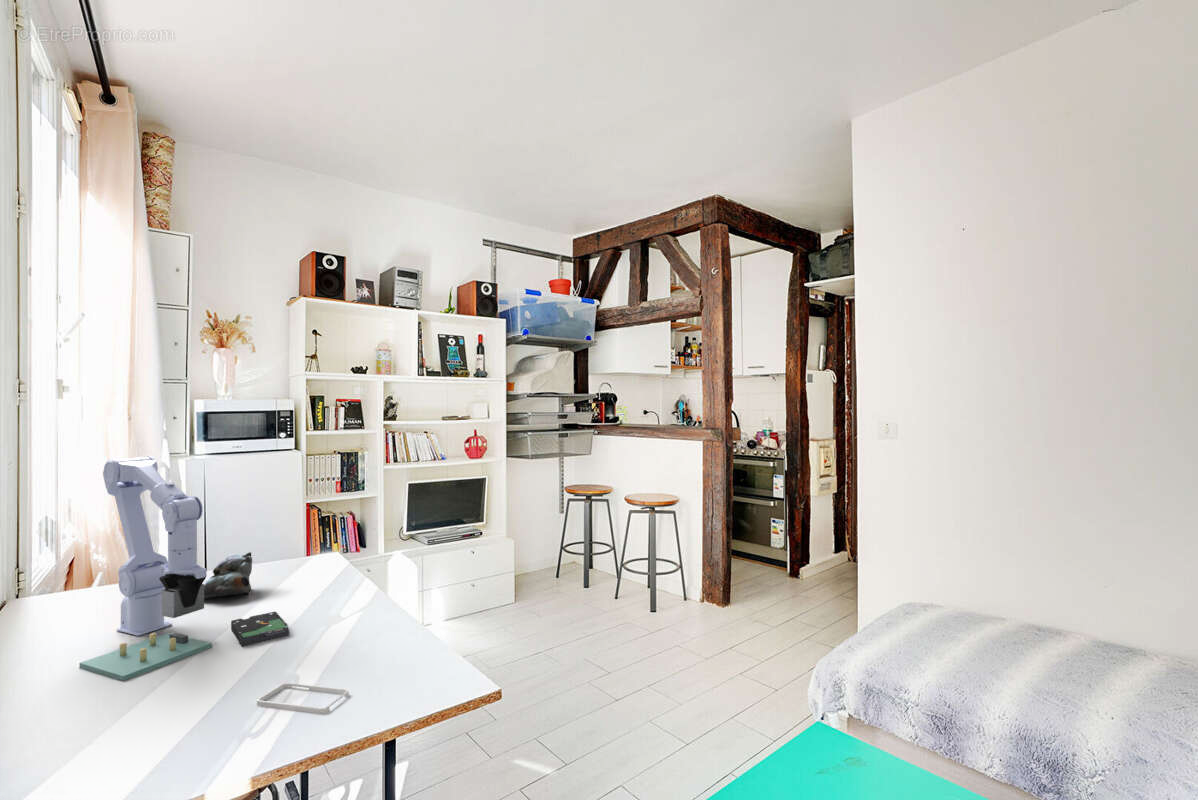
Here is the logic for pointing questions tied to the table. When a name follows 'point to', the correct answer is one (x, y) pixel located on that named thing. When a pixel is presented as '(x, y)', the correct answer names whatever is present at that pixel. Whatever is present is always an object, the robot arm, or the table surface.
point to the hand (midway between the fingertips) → (182, 604)
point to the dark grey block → (179, 602)
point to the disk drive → (259, 628)
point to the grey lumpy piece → (230, 577)
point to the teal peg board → (145, 655)
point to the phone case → (300, 707)
